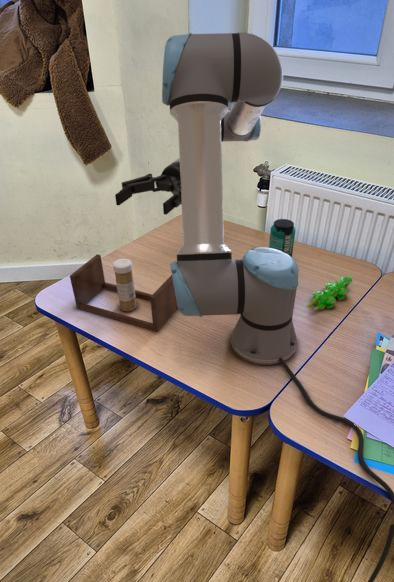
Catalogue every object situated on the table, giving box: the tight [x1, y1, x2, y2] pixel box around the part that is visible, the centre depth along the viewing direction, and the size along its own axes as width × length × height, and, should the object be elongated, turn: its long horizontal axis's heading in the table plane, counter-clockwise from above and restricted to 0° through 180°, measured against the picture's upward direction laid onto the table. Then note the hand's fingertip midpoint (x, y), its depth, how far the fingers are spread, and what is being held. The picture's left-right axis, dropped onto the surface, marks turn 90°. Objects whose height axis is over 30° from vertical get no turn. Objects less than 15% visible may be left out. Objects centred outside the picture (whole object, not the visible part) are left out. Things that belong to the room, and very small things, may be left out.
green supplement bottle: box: [268, 218, 296, 258], centre depth 137 cm, size 7×7×12 cm
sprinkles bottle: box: [112, 258, 138, 312], centre depth 119 cm, size 5×5×13 cm
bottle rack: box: [69, 253, 178, 333], centre depth 120 cm, size 12×24×10 cm, turn 65°
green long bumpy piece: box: [306, 275, 354, 311], centre depth 123 cm, size 7×18×4 cm, turn 134°
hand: (140, 204), depth 115 cm, fingers open, 13 cm apart
